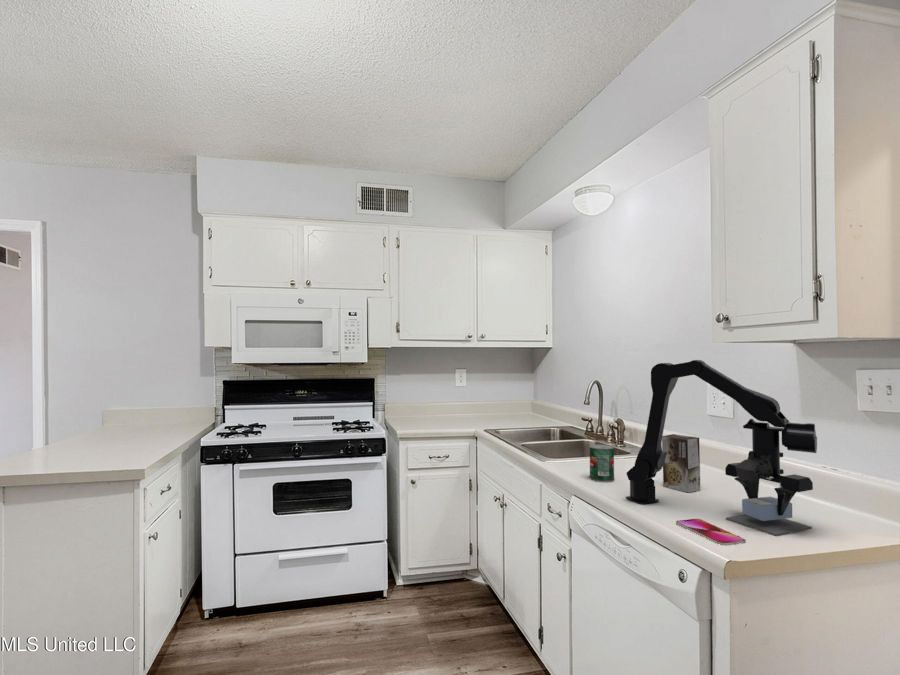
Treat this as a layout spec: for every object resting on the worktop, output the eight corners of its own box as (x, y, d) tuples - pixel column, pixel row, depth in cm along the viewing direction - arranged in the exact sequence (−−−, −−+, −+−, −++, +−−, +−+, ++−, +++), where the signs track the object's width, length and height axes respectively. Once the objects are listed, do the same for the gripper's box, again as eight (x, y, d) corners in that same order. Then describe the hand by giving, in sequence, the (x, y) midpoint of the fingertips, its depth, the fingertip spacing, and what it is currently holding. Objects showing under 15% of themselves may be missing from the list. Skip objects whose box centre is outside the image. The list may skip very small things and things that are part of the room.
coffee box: (701, 490, 155) (700, 437, 156) (688, 493, 152) (687, 439, 152) (674, 483, 163) (673, 433, 164) (662, 486, 160) (661, 435, 160)
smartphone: (721, 544, 111) (673, 520, 125) (721, 548, 111) (673, 524, 125) (748, 540, 112) (698, 518, 127) (748, 545, 112) (698, 522, 127)
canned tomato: (585, 477, 171) (584, 444, 172) (604, 475, 174) (604, 443, 174) (598, 483, 164) (598, 449, 164) (619, 481, 166) (619, 447, 167)
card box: (770, 510, 129) (770, 496, 129) (792, 517, 123) (792, 502, 123) (742, 513, 127) (742, 498, 127) (763, 521, 121) (762, 505, 121)
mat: (725, 519, 128) (725, 517, 128) (759, 512, 133) (759, 511, 133) (776, 536, 116) (776, 534, 116) (811, 528, 121) (811, 526, 122)
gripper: (710, 444, 131) (710, 505, 130) (782, 457, 114) (783, 528, 113) (739, 441, 135) (740, 499, 135) (813, 453, 118) (815, 521, 118)
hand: (767, 511), depth 125 cm, fingers closed on card box, 6 cm apart
